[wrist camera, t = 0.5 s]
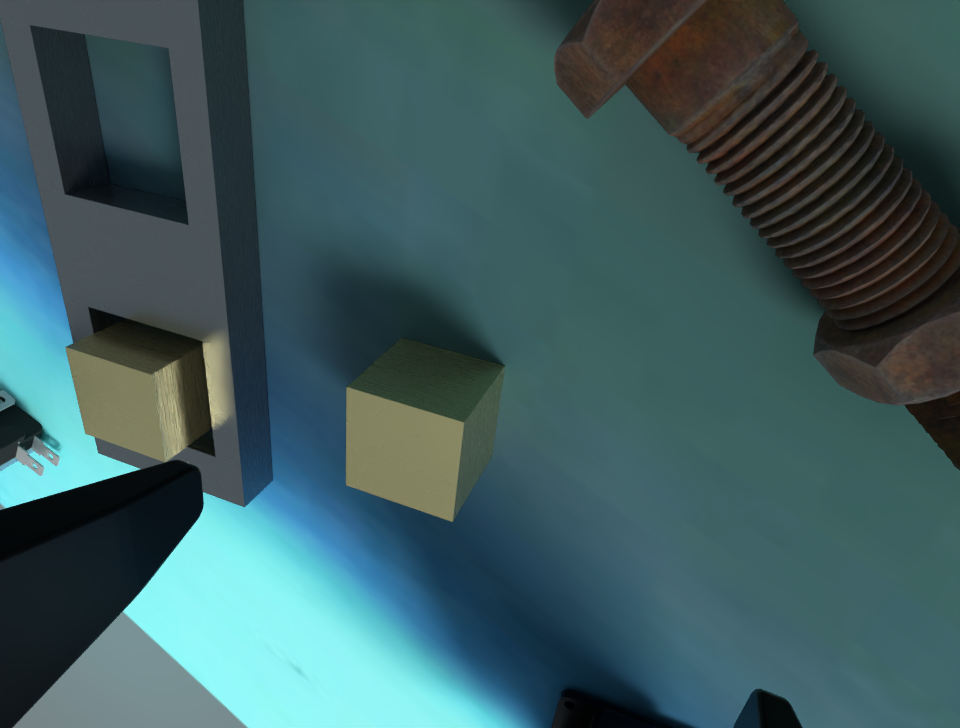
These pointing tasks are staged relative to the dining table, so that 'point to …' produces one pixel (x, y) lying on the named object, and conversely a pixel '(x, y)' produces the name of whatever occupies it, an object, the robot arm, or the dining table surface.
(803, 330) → the dining table surface
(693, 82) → the bolt
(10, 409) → the push button
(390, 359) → the beige wood block
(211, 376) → the rectangular frame
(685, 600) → the dining table surface
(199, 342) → the tan wooden cube
